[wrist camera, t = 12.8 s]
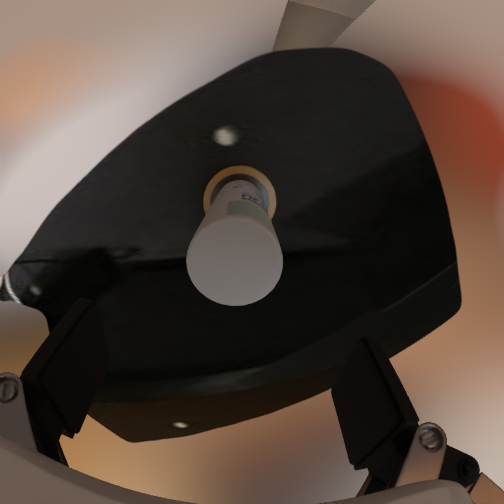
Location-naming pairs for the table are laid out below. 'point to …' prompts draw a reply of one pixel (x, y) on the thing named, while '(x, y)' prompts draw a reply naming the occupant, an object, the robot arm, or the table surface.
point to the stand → (241, 174)
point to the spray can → (235, 248)
